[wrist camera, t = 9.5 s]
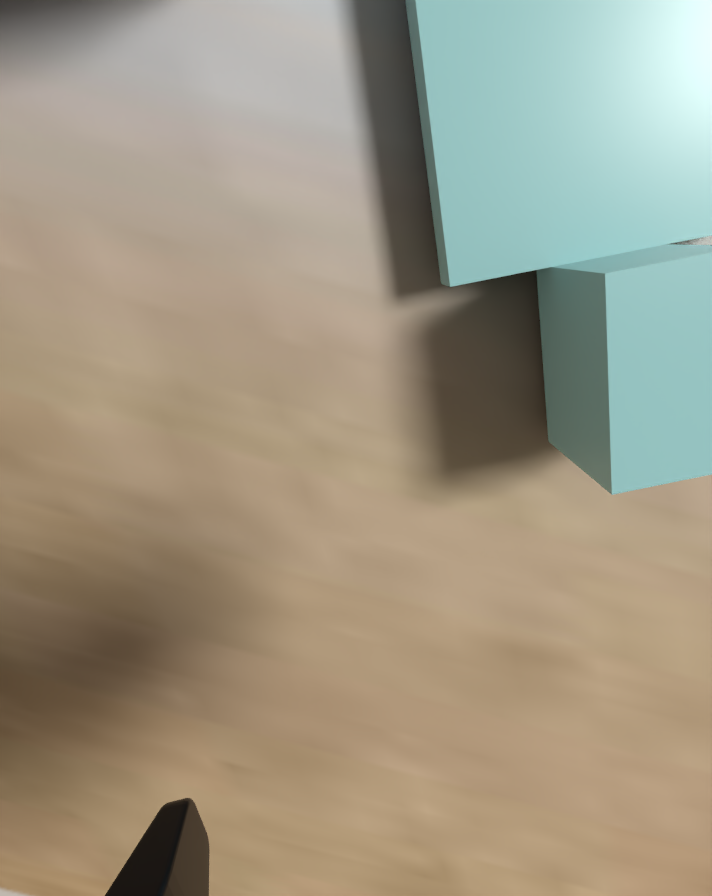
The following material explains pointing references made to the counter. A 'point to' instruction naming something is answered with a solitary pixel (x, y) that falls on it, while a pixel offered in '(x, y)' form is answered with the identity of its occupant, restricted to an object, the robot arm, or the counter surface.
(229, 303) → the counter surface
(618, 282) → the lid
